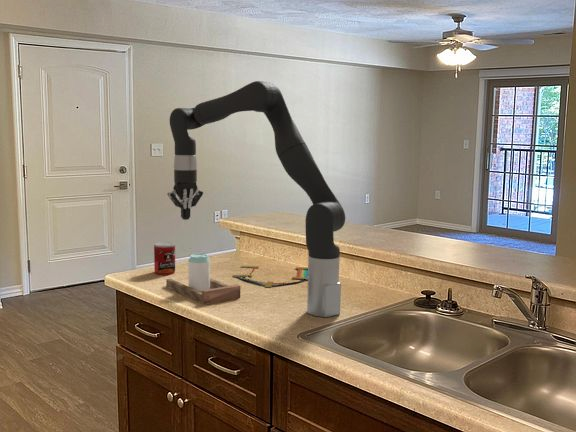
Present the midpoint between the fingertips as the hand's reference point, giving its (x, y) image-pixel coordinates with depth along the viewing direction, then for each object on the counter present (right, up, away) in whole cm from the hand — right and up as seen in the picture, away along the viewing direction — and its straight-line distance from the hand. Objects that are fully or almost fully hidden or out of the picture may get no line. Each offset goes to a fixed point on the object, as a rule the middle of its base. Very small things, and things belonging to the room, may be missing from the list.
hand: (185, 219), depth 210 cm
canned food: (-11, -20, +20) cm, 31 cm away
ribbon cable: (+29, -22, +16) cm, 40 cm away
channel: (+6, -24, -5) cm, 25 cm away
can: (+5, -24, -4) cm, 25 cm away
